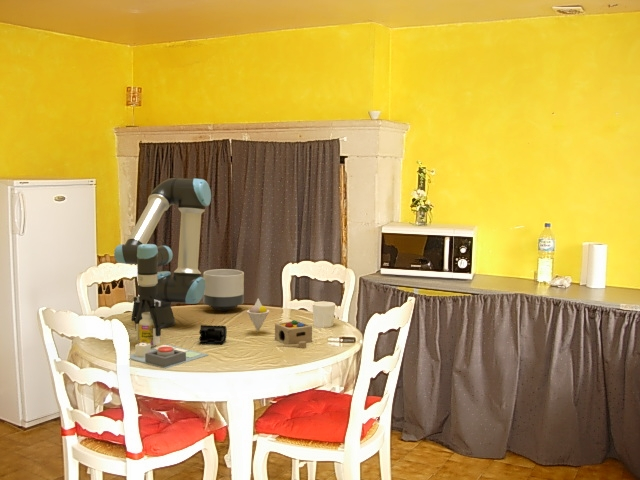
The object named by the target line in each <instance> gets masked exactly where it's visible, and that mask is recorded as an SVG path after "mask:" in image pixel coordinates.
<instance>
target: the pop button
mask: <svg viewBox="0 0 640 480" xmlns="http://www.w3.org/2000/svg"><path fill="white" fill-rule="evenodd" d="M173 354H174V349H173V348H172V347H160V348H158V350H157V355H159V356H163V357H167V356H170V355H173Z"/></svg>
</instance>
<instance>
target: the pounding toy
mask: <svg viewBox="0 0 640 480" xmlns="http://www.w3.org/2000/svg"><path fill="white" fill-rule="evenodd" d="M274 341H277V342H280V343H282V344H277V345H276V347H283V348H299V349H307V343H311V342H313V325H312V324H308V323H305V322H303V321H300V320H295V319H294V320H291V321H285V322H278V323H274Z"/></svg>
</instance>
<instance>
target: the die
mask: <svg viewBox="0 0 640 480" xmlns="http://www.w3.org/2000/svg"><path fill="white" fill-rule="evenodd" d="M134 349H135V351H134V353H135V356H140V357H145V353H149V352H151V349H152V347H151V344H149V343H139V342H138V343H137V344H135V348H134Z"/></svg>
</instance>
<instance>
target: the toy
mask: <svg viewBox="0 0 640 480" xmlns="http://www.w3.org/2000/svg"><path fill="white" fill-rule="evenodd" d="M261 302H262V301H260V298H259V297H258V298H257V299H256V301H255V304H254V305H253V306H251V307H250V308H249V309H247V311H246V312H247V314H248V316H249V318H250V320H251V322H252V324H253V327H254V328H255V330H256V332H257V333H259V332H260V329H261V328H262V326H263V324H264V323H265V320H266V319H267V317H268V314H269V313H270V310H269V309H267V307H266V306H264V305H263V304H262V303H261Z"/></svg>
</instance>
